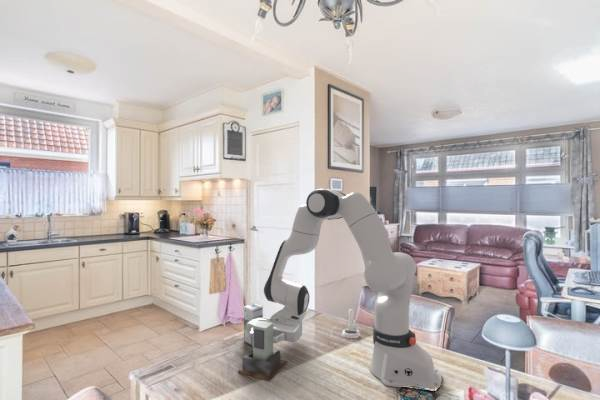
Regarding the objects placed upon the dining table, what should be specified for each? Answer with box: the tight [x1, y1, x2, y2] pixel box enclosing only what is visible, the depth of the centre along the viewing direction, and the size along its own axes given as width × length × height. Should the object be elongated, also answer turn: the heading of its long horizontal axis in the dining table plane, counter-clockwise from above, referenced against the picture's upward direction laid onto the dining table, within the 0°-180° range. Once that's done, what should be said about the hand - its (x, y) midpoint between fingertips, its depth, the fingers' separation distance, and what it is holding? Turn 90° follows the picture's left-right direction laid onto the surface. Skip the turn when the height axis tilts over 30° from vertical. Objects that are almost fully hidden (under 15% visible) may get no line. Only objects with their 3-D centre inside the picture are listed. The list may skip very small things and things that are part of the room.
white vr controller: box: [341, 308, 361, 340], centre depth 136 cm, size 8×12×7 cm
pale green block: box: [252, 321, 274, 361], centre depth 108 cm, size 5×6×14 cm
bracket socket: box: [237, 350, 288, 382], centre depth 108 cm, size 12×12×5 cm
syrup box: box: [243, 303, 264, 347], centre depth 128 cm, size 6×6×14 cm
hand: (262, 338), depth 107 cm, fingers open, 8 cm apart
